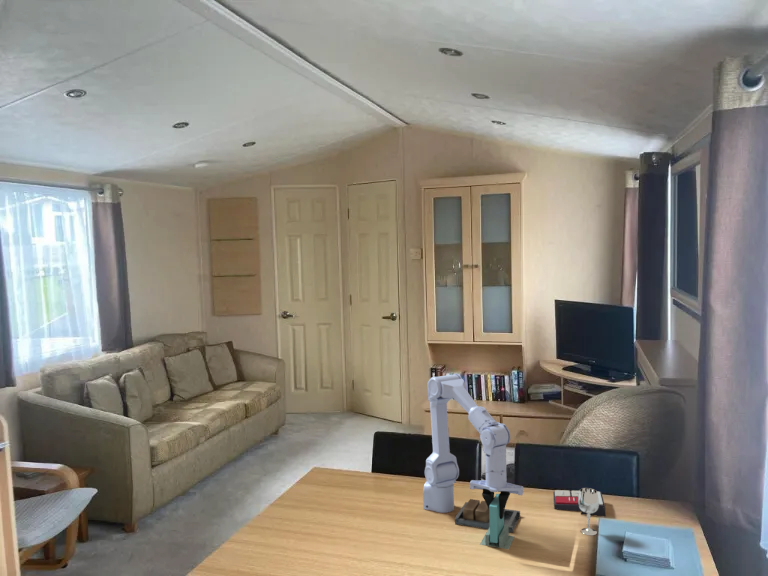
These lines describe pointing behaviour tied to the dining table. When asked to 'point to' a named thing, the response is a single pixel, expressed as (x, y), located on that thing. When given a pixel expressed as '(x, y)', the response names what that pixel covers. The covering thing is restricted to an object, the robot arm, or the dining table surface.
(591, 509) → the wineglass
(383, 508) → the dining table surface
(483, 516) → the offcut
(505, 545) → the stand
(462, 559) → the dining table surface
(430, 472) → the robot arm
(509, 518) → the rack
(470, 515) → the offcut
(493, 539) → the teal flat block
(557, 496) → the black red box
